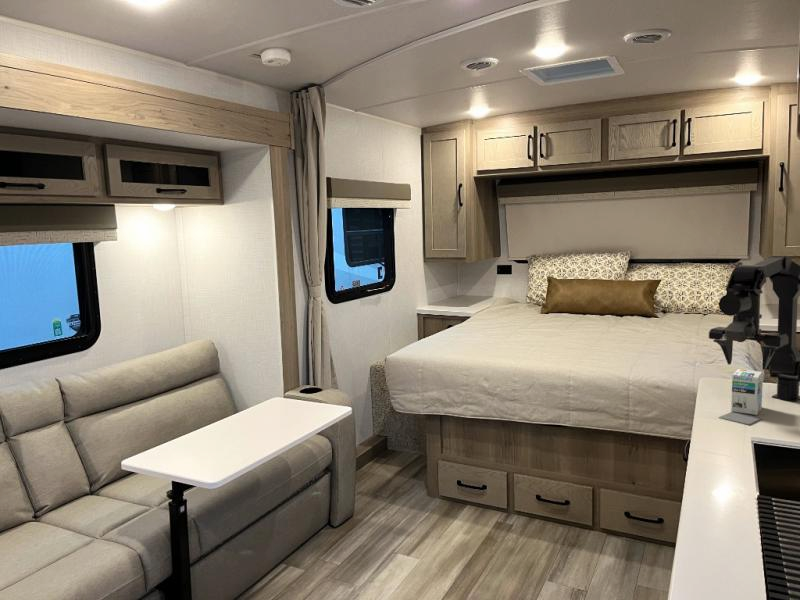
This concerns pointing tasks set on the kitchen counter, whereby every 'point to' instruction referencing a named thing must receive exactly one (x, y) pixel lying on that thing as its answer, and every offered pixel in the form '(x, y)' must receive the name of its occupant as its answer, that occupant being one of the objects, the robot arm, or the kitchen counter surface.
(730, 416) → the mat
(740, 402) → the light bulb box
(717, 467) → the kitchen counter surface
